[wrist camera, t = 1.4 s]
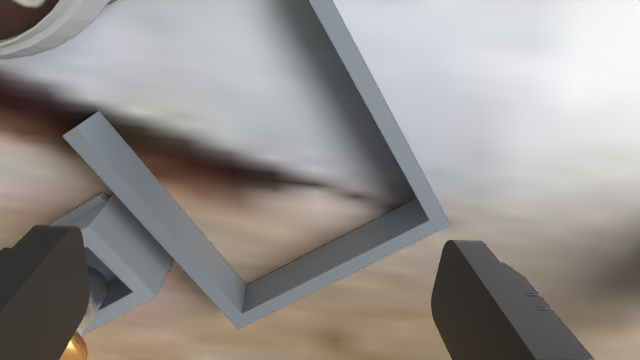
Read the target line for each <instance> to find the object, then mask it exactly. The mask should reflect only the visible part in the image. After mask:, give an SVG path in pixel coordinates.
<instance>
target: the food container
mask: <svg viewBox="0 0 640 360" xmlns="http://www.w3.org/2000/svg"><path fill="white" fill-rule="evenodd" d="M114 1H116V0H0V59H10V58H17V57H24V56H30V55H35V54H38V53H41V52H44V51H47V50H50V49H53V48H56V47H57V46H59V45H61V44H63V43H64V42H66V41H68V40H70V39H72V38H73V37H75V36H77V35H78V34H79V33H80V32H81V31H82V30H84V29H85V28H86V27H87V26H88V25H89V24H90V23H92V22H93V21H94V20H95V18H96V17H97V16H98V15H99V13H100V12H101V11H102V10H103V8H104V7H105V6H106V5H108V4H110V3H112V2H114Z"/></svg>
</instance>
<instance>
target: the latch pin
mask: <svg viewBox="0 0 640 360" xmlns="http://www.w3.org/2000/svg"><path fill="white" fill-rule="evenodd" d="M87 270H88V277H89V284H90V298H89V304H88V308H87V311H86V314H85V316H84V318H83V320H82V321H81V323H80V325H79V327H78V328H77V330H76V332H75V334H74V335H73V337H72V339H71V340H70V342H69V344H68V346H67V347H66V349H65V351H64V353H63V354H62V356H61V358H60V359H59V360H87V356H88V350H87V346H86V343H85V341H84V340H83V338H82V336H83V334H84V333H85V331H86V329H87V328H88V326H89V324H90V323H91V321H92V319H93V318H94V316H95V314H96V312H97V311H98V309H99V307H100V306H101V304H102V302H103V301H104V299H105V297H106V295H107V294H108V292H109V282H108V280H107V278H106V277H105V276H104V274H102V273H101V272H100V271H99V270H97V269H95V268H92V267H89V266H87Z"/></svg>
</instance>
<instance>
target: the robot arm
mask: <svg viewBox="0 0 640 360" xmlns="http://www.w3.org/2000/svg"><path fill="white" fill-rule="evenodd" d="M89 298H90V284H89V277H88V270H87V263H86V256H85V249H84V242H83V236H82V232H81V230H80V229H79V227H77V226H60V225H36V226H34V227H33V228H32V229H31V230H30V231H29V232H28V233H27V234H26V235H25V236H24V237H23V238H22V239H21V240H20V241H19V242H18V243H16V244H15V245H14V246H13V247H12V248H4V249H2V250H0V360H59V359H60V358H61V356H62V354H63V353H64V351H65V349H66V347H67V346H68V344H69V342H70V340H71V339H72V337H73V335H74V334H75V332H76V330H77V328H78V327H79V325H80V323H81V321H82V320H83V318H84V316H85V314H86V311H87V308H88V304H89ZM431 308H432V315H433V319H434V322H435V324H436V326H437V328H438V330H439V333H440V335H441V337H442V339H443V341H444V343H445V345H446V348H447V350H448V352H449V354H450V356H451V358H452V360H595V359H594V358H593V357H592V356H591V355H590V353H589V352H588V351H587V350H586V349H585V348H584V346H583V345H582V344H581V343H580V342H579V341H578V339H577V338H576V337H575V336H574V335H573V334H572V332H571V331H570V330H569V329H568V328H567V326H566V325H565V324H564V323H563V322H562V321H561V319H560V318H559V317H558V316H557V315H556V314H555V312H554V311H550V306H549V305H548V304H547V303H546V302H545V301H544V299H543V298H542V297H539V296H538V292H537V291H536V290H535V289H534V288H533V286H532V285H531V284H530V283H529V282H528V281H527V279H526V278H525V277H524V276H522V275H521V274H519V273H518V272H516V271H515V270H514V269H512V268H511V267H509V266H508V265H506V264H505V263H500V262H499V261H498V259H497V258H496V257H495V256H494V255H493V253H492V252H491V251H490V250H489V248H488V247H487V246H486V245H485V244H484V243H483V242H482V241H466V240H449V241H447V242H446V243H445V245H444V248H443V251H442V255H441V259H440V263H439V267H438V272H437V276H436V280H435V284H434V288H433V292H432V298H431Z"/></svg>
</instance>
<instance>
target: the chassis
mask: <svg viewBox="0 0 640 360" xmlns="http://www.w3.org/2000/svg"><path fill="white" fill-rule="evenodd" d="M309 2H310V3H311V5H312V7H313V9H314V11H315V12H316V14H317V16H318V18H319V20H320V22H321V23H322V25H323V27H324V29H325V31H326V32H327V34H328V36H329V38H330V40H331V42H332V43H333V45H334V47H335V49H336V51H337V53H338V54H339V56H340V58H341V60H342V62H343V63H344V65H345V67H346V69H347V71H348V73H349V74H350V76H351V78H352V80H353V82H354V83H355V85H356V87H357V89H358V91H359V93H360V94H361V96H362V98H363V100H364V102H365V104H366V105H367V107H368V109H369V111H370V113H371V114H372V116H373V118H374V120H375V122H376V124H377V125H378V127H379V129H380V131H381V133H382V134H383V136H384V138H385V140H386V142H387V144H388V145H389V147H390V149H391V151H392V153H393V155H394V156H395V158H396V160H397V162H398V164H399V165H400V167H401V169H402V171H403V173H404V175H405V176H406V178H407V180H408V182H409V184H410V185H411V187H412V189H413V191H414V193H415V195H416V196H417V198H416V199H414V200H412V201H410V202H408V203H406V204H404V205H402V206H400V207H398V208H396V209H394V210H392V211H390V212H388V213H386V214H385V215H383V216H381V217H379V218H377V219H375V220H373V221H371V222H369V223H367V224H365V225H363V226H361V227H359V228H357V229H355V230H353V231H351V232H349V233H347V234H345V235H344V236H342V237H340V238H338V239H336V240H334V241H332V242H330V243H328V244H326V245H324V246H322V247H320V248H318V249H316V250H314V251H312V252H310V253H308V254H306V255H304V256H302V257H301V258H299V259H297V260H295V261H293V262H291V263H289V264H287V265H285V266H283V267H281V268H279V269H277V270H275V271H273V272H271V273H269V274H267V275H265V276H263V277H261V278H260V279H258V280H256V281H254V282H252V283H250V284H248V285H246V284H245V283H244V282H243V281H242V279H241V278H240V277H239V276H238V275H237V274H236V272H235V271H234V270H233V269H232V268H231V266H230V265H229V264H228V263H227V262H226V261H225V259H224V258H223V257H222V256H221V255H220V253H219V252H218V251H217V250H216V249H215V247H214V246H213V245H212V244H211V243H210V242H209V240H208V239H207V238H206V237H205V236H204V234H203V233H202V232H201V231H200V230H199V228H198V227H197V226H196V225H195V224H194V223H193V221H192V220H191V219H190V218H189V217H188V215H187V214H186V213H185V212H184V211H183V210H182V208H181V207H180V206H179V205H178V204H177V202H176V201H175V200H174V199H173V198H172V196H171V195H170V194H169V193H168V192H167V191H166V189H165V188H164V187H163V186H162V185H161V183H160V182H159V181H158V180H157V179H156V177H155V176H154V175H153V174H152V173H151V172H150V170H149V169H148V168H147V167H146V166H145V164H144V163H143V162H142V161H141V160H140V159H139V157H138V156H137V155H136V154H135V153H134V151H133V150H132V149H131V148H130V147H129V145H128V144H127V143H126V142H125V141H124V140H123V138H122V137H121V136H120V135H119V134H118V132H117V131H116V130H115V129H114V128H113V126H112V125H111V124H110V123H109V122H108V121H107V119H106V118H105V117H104V116H103V115H102V113H101V112H100V111H98V112H96V113H95V114H93V115H92V116H90V117H89V118H87V119H86V120H84V121H83V122H81V123H80V124H79V125H77V126H76V127H74V128H73V129H71V130H70V131H69V132H67V133H66V134H64V135H63V137H64V138H65V140H66V141H67V142H68V143H69V144H70V145H71V146H72V147H73V148H74V149H75V151H76V152H77V153H78V154H79V155H80V156H81V157H82V158H83V159H84V161H85V162H86V163H87V164H88V165H89V166H90V167H91V168H92V169H93V170H94V172H95V173H96V174H97V175H98V176H99V177H100V178H101V179H102V180H103V181H104V183H105V184H106V185H107V186H108V187H109V188H110V189H111V190H112V191H113V192H114V195H112V196H111V197H108V196H107V195H106V194H105V193H104V192H102V193H101V194H99V195H97V196H96V197H94V198H92V199H91V200H89V201H87V202H86V203H84V204H82V205H81V206H79V207H77V208H76V209H74V210H72V211H71V212H69V213H67V214H66V215H64V216H62V217H61V218H59V219H57V220H56V221H54V222H52V223H51V224H49V225H60V226H77V227H79V229H80V230H81V232H82V236H83V242H84V249H85V256H86V263H87V266H89V267H92V268H95V269H97V270H99V271H100V272H101V273H102V274H104V276H105V277H106V278H107V280H108V282H109V292H108V294H107V295H106V297H105V299H104V301H103V302H102V304H101V306H100V307H99V309H98V311H97V312H96V314H95V316H94V318H93V319H92V321H91V323H90V324H89V326H88V328H87V329H86V331H85V333H84V334H86V333H88V332H90V331H91V330H93V329H95V328H97V327H99V326H101V325H103V324H105V323H107V322H108V321H110V320H112V319H114V318H116V317H118V316H120V315H122V314H124V313H125V312H127V311H129V310H131V309H133V308H135V307H137V306H139V305H141V304H142V303H144V302H146V301H148V300H150V299H152V298H154V297H156V296H157V294H158V291H159V289H160V287H161V285H162V282H163V280H164V278H165V275H166V273H167V272H169V271H170V269H171V267H172V266H171V265H170V264H171V262H172V259H173V258H174V260H175V261H176V262H177V263H178V264H179V265H180V266H181V267H182V268H183V269H184V271H185V272H186V273H187V274H188V275H189V276H190V277H191V278H192V279H193V281H194V282H195V283H196V284H197V285H198V286H199V287H200V288H201V289H202V290H203V292H204V293H205V294H206V295H207V296H208V297H209V298H210V299H211V300H212V301H213V303H214V304H215V305H216V306H217V307H218V308H219V309H220V310H221V311H222V312H223V314H224V315H225V316H226V317H227V318H228V319H229V320H230V321H231V322H232V323H233V325H234V326H235V327H236V328H237V329H240V328H242V327H244V326H246V325H248V324H250V323H252V322H254V321H256V320H258V319H260V318H262V317H264V316H266V315H268V314H270V313H272V312H274V311H276V310H278V309H280V308H282V307H284V306H286V305H289V304H291V303H293V302H295V301H297V300H299V299H301V298H303V297H305V296H307V295H309V294H311V293H313V292H315V291H317V290H319V289H321V288H323V287H325V286H327V285H329V284H331V283H333V282H335V281H337V280H339V279H341V278H343V277H345V276H347V275H349V274H352V273H354V272H356V271H358V270H360V269H362V268H364V267H366V266H368V265H370V264H372V263H374V262H376V261H378V260H380V259H382V258H384V257H386V256H388V255H390V254H392V253H394V252H396V251H398V250H400V249H402V248H404V247H406V246H408V245H410V244H412V243H415V242H417V241H419V240H421V239H423V238H425V237H427V236H429V235H431V234H433V233H435V232H437V231H439V230H441V229H443V228H445V227H447V226H449V225H450V223H449V221H448V219H447V217H446V215H445V213H444V211H443V209H442V207H441V205H440V204H439V202H438V200H437V198H436V196H435V194H434V192H433V190H432V188H431V186H430V185H429V183H428V181H427V179H426V177H425V175H424V173H423V171H422V169H421V167H420V166H419V164H418V162H417V160H416V158H415V156H414V154H413V152H412V150H411V148H410V147H409V145H408V143H407V141H406V139H405V137H404V135H403V133H402V131H401V129H400V128H399V126H398V124H397V122H396V120H395V118H394V116H393V114H392V112H391V110H390V109H389V107H388V105H387V103H386V101H385V99H384V97H383V95H382V93H381V91H380V90H379V88H378V86H377V84H376V82H375V80H374V78H373V76H372V74H371V72H370V71H369V69H368V67H367V65H366V63H365V61H364V59H363V57H362V55H361V53H360V51H359V50H358V48H357V46H356V44H355V42H354V40H353V38H352V36H351V34H350V32H349V31H348V29H347V27H346V25H345V23H344V21H343V19H342V17H341V15H340V13H339V12H338V10H337V8H336V6H335V4H334V2H333V0H309ZM122 202H123V203H124V204H123V203H122ZM132 213H133V214H134V215H133V214H132ZM142 224H143V225H144V226H143V225H142ZM152 235H153V236H154V237H153V236H152ZM162 246H163V247H164V248H163V247H162ZM172 257H173V258H172ZM84 334H83V335H84Z"/></svg>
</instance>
